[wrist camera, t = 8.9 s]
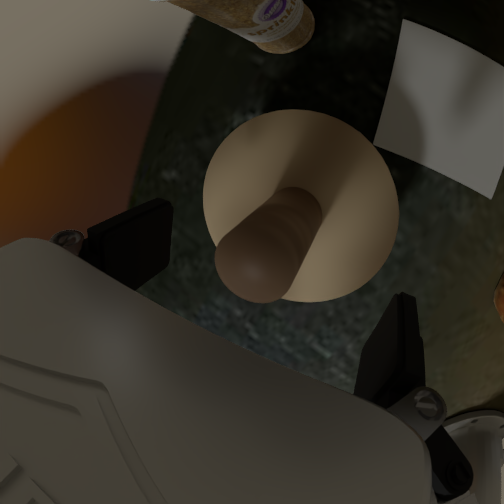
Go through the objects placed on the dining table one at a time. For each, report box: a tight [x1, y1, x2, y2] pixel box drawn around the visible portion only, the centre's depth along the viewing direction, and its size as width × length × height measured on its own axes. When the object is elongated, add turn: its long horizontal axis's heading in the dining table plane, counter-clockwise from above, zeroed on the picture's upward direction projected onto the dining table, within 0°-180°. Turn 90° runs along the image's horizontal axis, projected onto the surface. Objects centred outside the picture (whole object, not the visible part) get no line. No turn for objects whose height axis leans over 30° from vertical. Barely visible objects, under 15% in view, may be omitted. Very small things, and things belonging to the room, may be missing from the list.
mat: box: [373, 19, 504, 199], centre depth 13 cm, size 9×9×1 cm
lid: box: [203, 109, 399, 303], centre depth 13 cm, size 11×11×7 cm
